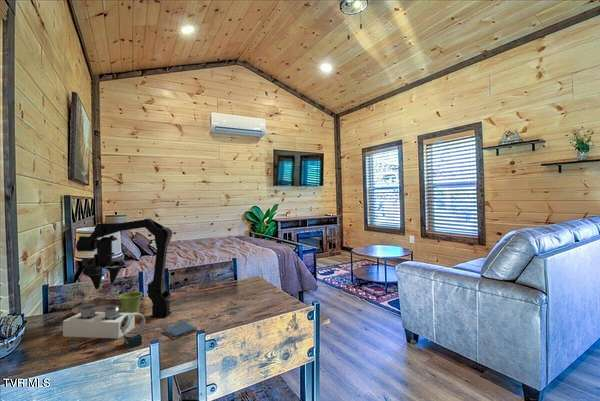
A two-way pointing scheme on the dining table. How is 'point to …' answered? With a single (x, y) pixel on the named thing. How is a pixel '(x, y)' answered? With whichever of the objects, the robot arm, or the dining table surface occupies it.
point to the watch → (135, 337)
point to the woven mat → (179, 330)
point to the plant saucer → (98, 305)
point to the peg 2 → (112, 312)
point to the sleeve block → (95, 326)
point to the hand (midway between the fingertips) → (104, 286)
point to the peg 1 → (88, 311)
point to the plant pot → (131, 302)
